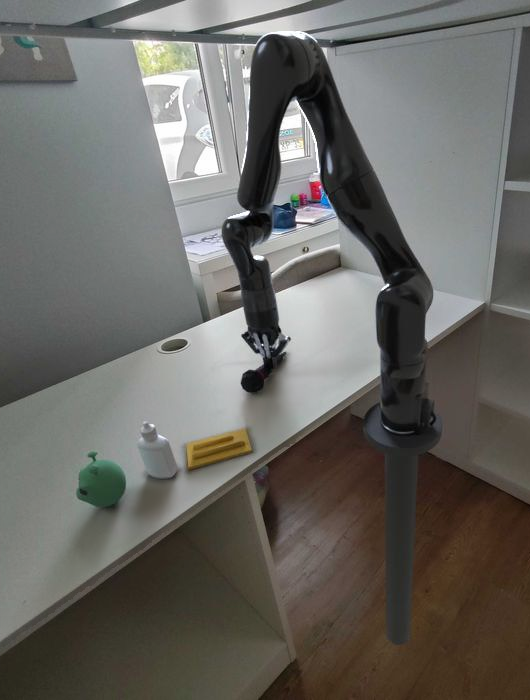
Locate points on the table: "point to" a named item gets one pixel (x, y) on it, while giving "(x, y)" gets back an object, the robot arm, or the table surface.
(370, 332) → the table surface
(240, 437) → the soap dish
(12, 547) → the table surface
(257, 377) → the microphone
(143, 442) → the eye dropper bottle
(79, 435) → the table surface
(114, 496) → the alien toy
